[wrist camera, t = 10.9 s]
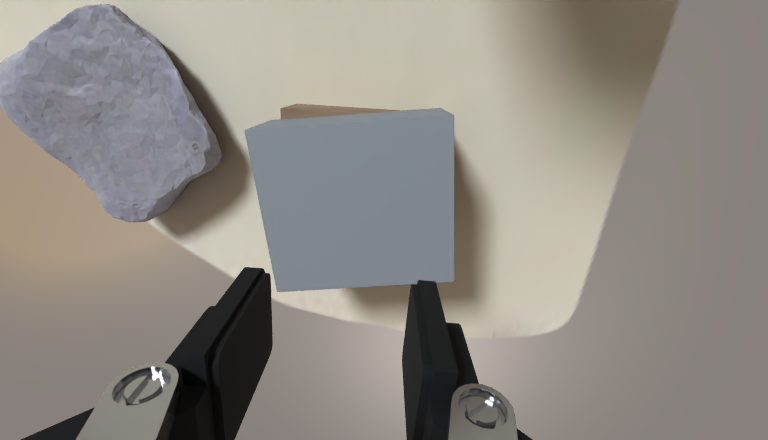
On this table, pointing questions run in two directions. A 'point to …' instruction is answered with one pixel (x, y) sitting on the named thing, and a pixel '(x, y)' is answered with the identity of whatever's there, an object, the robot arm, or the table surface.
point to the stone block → (110, 110)
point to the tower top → (357, 198)
